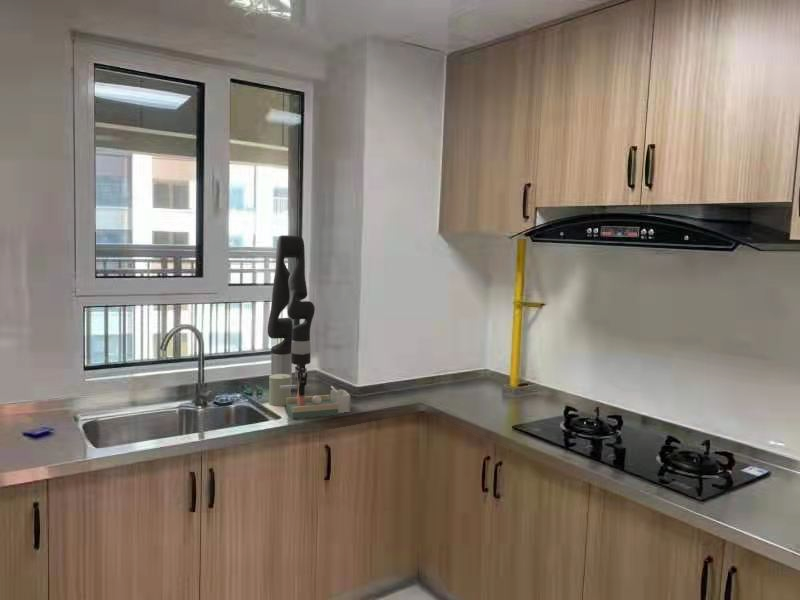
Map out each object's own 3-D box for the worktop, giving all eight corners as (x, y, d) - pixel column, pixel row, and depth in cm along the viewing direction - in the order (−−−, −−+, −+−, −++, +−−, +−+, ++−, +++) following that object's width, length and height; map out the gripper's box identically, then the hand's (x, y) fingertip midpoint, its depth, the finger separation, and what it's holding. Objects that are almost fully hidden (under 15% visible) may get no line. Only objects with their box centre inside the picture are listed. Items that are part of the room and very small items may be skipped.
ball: (310, 404, 248) (310, 394, 248) (320, 403, 250) (320, 394, 249) (312, 407, 245) (312, 397, 244) (322, 406, 246) (322, 396, 246)
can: (279, 407, 253) (279, 378, 252) (264, 403, 258) (264, 375, 257) (295, 402, 260) (295, 374, 259) (281, 398, 266) (281, 371, 264)
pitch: (286, 408, 251) (286, 397, 250) (329, 405, 257) (329, 394, 256) (292, 418, 237) (292, 407, 236) (338, 415, 243) (338, 404, 242)
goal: (330, 406, 254) (330, 386, 254) (343, 405, 256) (343, 385, 256) (336, 413, 245) (336, 391, 244) (350, 412, 247) (350, 390, 246)
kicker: (279, 404, 245) (279, 382, 245) (309, 402, 250) (309, 380, 249) (282, 409, 239) (282, 386, 238) (312, 407, 243) (312, 384, 242)
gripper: (288, 348, 248) (288, 390, 250) (294, 355, 235) (294, 399, 237) (306, 348, 251) (306, 389, 252) (313, 354, 237) (313, 397, 239)
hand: (300, 393), depth 244 cm, fingers closed on kicker, 3 cm apart
